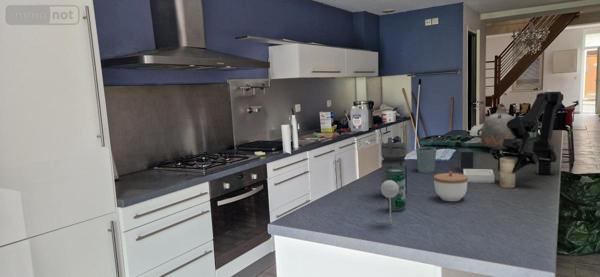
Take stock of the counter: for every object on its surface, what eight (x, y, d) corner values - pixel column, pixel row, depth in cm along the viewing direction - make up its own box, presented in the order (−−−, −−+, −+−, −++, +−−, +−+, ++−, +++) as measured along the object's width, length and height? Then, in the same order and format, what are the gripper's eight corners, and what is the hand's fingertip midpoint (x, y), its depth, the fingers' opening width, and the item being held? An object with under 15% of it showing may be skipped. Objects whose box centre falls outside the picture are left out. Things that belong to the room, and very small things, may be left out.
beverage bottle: (411, 191, 178) (410, 134, 175) (402, 199, 167) (401, 138, 164) (388, 189, 184) (387, 133, 180) (378, 197, 172) (376, 137, 169)
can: (402, 212, 151) (401, 172, 150) (386, 210, 155) (385, 170, 153) (407, 207, 157) (406, 168, 155) (391, 205, 160) (390, 167, 158)
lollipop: (379, 221, 143) (378, 179, 141) (396, 220, 143) (395, 177, 141) (384, 227, 137) (383, 183, 135) (402, 226, 137) (401, 181, 135)
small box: (474, 172, 209) (474, 151, 207) (460, 172, 210) (460, 151, 209) (469, 167, 219) (469, 148, 218) (456, 167, 220) (456, 148, 219)
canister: (499, 184, 183) (499, 157, 182) (514, 184, 181) (514, 157, 180) (500, 187, 178) (500, 159, 176) (516, 187, 175) (516, 160, 174)
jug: (484, 154, 253) (484, 105, 249) (475, 149, 274) (475, 103, 270) (527, 153, 248) (528, 103, 245) (515, 148, 269) (515, 101, 266)
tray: (463, 176, 201) (463, 168, 201) (491, 176, 197) (491, 169, 197) (464, 182, 190) (464, 174, 189) (494, 183, 185) (494, 175, 185)
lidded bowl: (451, 205, 156) (451, 176, 155) (427, 198, 168) (426, 171, 166) (474, 199, 162) (474, 171, 161) (449, 193, 173) (449, 167, 172)
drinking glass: (415, 172, 214) (414, 149, 212) (417, 168, 223) (417, 146, 222) (435, 173, 210) (435, 150, 208) (437, 169, 219) (437, 147, 218)
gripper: (492, 130, 186) (478, 157, 181) (535, 132, 171) (521, 163, 166) (501, 145, 192) (488, 172, 187) (544, 149, 176) (530, 178, 172)
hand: (505, 171), depth 178 cm, fingers closed on canister, 6 cm apart
